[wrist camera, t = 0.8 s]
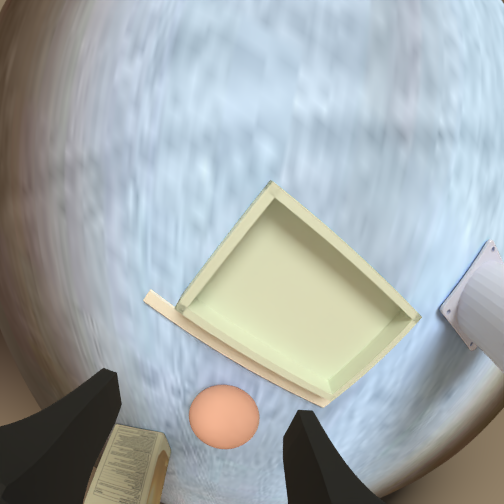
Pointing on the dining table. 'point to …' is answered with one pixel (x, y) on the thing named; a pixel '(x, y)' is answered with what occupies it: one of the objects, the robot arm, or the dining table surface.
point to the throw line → (229, 349)
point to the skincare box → (131, 468)
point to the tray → (297, 298)
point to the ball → (224, 416)
